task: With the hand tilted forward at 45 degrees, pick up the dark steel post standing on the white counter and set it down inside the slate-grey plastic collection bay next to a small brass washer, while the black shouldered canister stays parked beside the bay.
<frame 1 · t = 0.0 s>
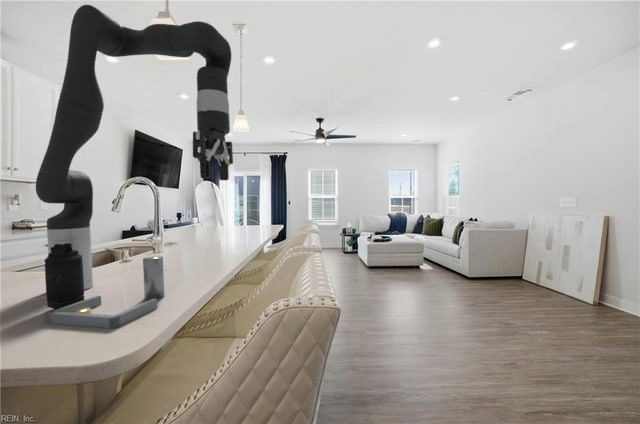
hand: (215, 179, 74), 29 cm above the kitchen island, tool pointing down, fingers open, 8 cm apart
washer: (78, 318, 63), on the kitchen island
black shouldered canister: (65, 309, 69), on the kitchen island
bay: (107, 313, 65), on the kitchen island
post: (154, 297, 76), on the kitchen island
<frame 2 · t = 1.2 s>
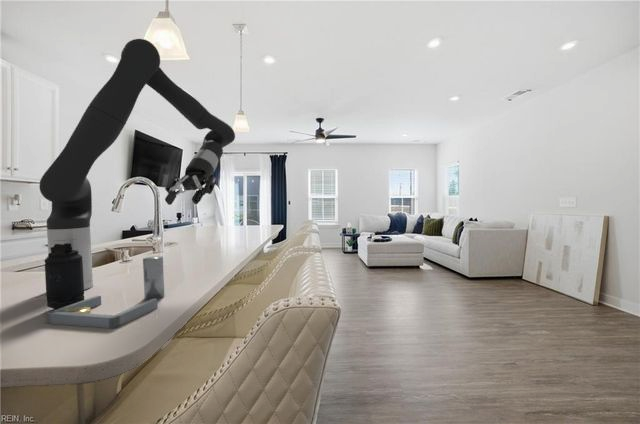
hand: (180, 202, 86), 24 cm above the kitchen island, tool tilted 45°, fingers open, 8 cm apart
nothing on the kitchen island moved.
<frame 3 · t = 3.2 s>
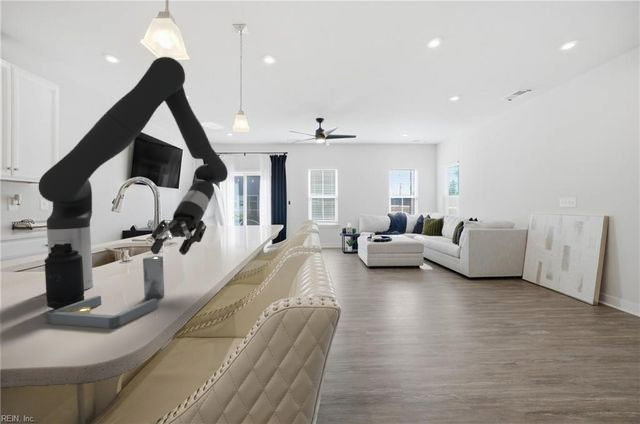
hand: (167, 252, 80), 10 cm above the kitchen island, tool tilted 45°, fingers open, 8 cm apart
nothing on the kitchen island moved.
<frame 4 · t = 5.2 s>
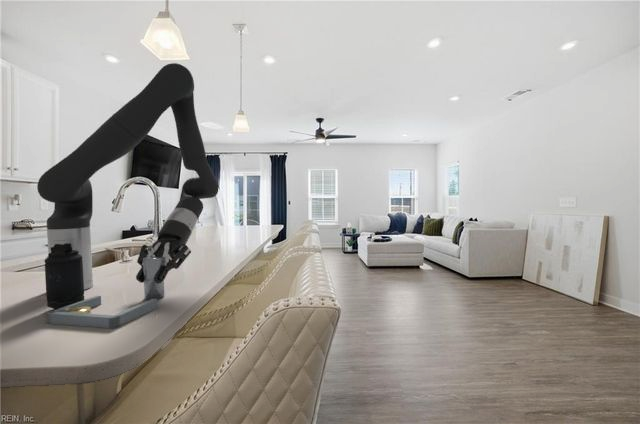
hand: (148, 281, 74), 5 cm above the kitchen island, tool tilted 45°, fingers closed on post, 4 cm apart
post: (154, 297, 76), on the kitchen island, touching gripper
everything else where it was.
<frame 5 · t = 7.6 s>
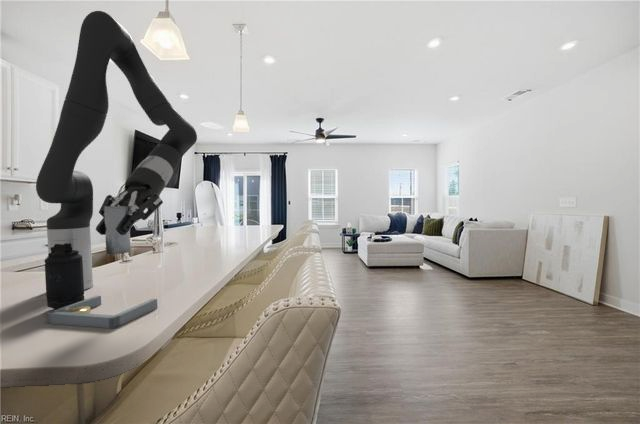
hand: (110, 232, 63), 18 cm above the kitchen island, tool tilted 45°, fingers closed on post, 4 cm apart
post: (118, 252, 65), point 13 cm above the kitchen island, touching gripper
everything else where it was.
when the fingers open (5 cm above the kitchen island, at t = 10.2 s): post stays where it is, on the kitchen island.
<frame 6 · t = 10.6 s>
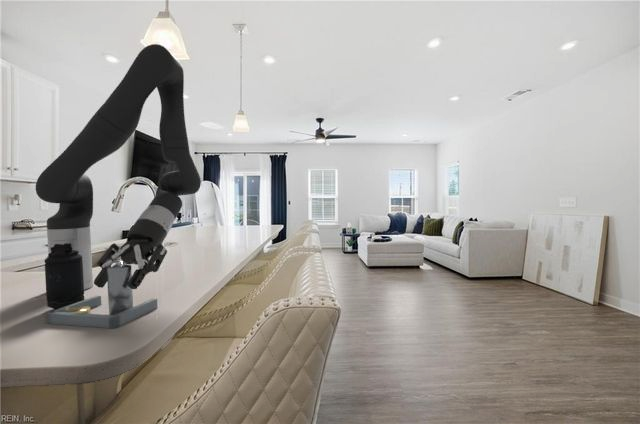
hand: (114, 286, 64), 6 cm above the kitchen island, tool tilted 45°, fingers open, 8 cm apart
post: (121, 312, 65), on the kitchen island
everything else where it was.
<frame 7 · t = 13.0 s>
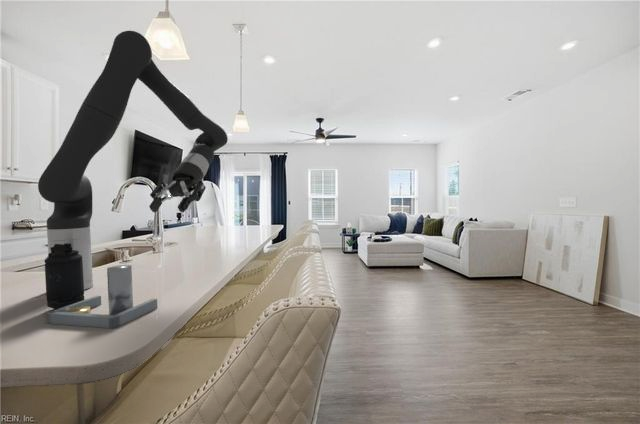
hand: (166, 210, 80), 22 cm above the kitchen island, tool tilted 45°, fingers open, 8 cm apart
nothing on the kitchen island moved.
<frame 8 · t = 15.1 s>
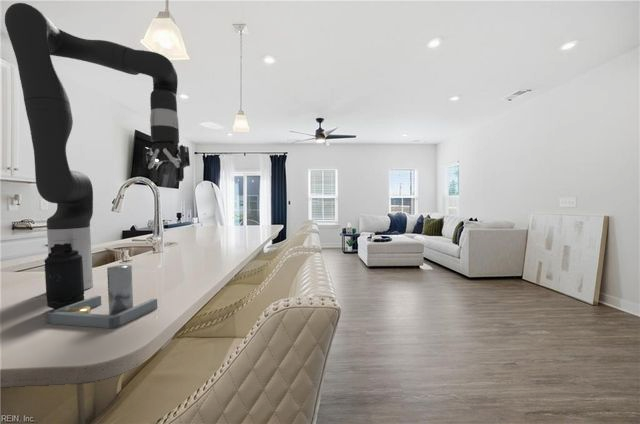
hand: (166, 181, 91), 30 cm above the kitchen island, tool pointing down, fingers open, 8 cm apart
nothing on the kitchen island moved.
at the end: post inside the target area (2.7 cm from its centre), on the kitchen island; post tilted 1°; the gripper is holding nothing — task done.
